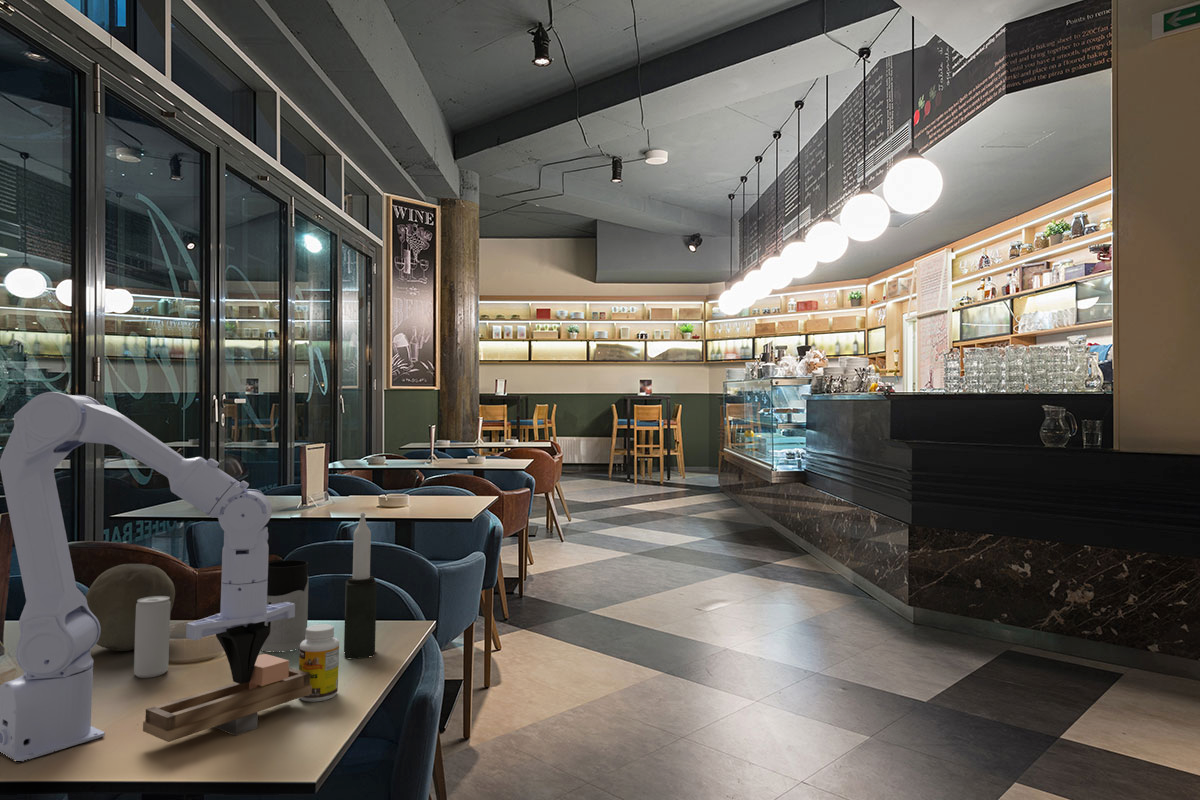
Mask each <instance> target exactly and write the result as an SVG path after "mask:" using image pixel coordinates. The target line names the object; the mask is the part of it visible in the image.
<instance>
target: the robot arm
mask: <svg viewBox="0 0 1200 800" xmlns="http://www.w3.org/2000/svg"><path fill="white" fill-rule="evenodd" d="M13 423H14V424H13V428H12V430H11V433H10V435H9V438H8V439H7V442H6V445H5V447H4V449H3V452H2V455H1V456H0V475H1V480H2V485H3V490H4V496H5V500H6V506H7V510H8V514H9V515H8V517H9V520H10V526H11V530H12V534H13V535H12V536H13V540H14V541H13V542H14V546H15V551H16V555H17V561H18V566H19V571H20V577H21V580H22V586H23V592H24V595H25V596H24V597H25V605H24V606H23V610H22V611H21V614H20V617H19V621H18V626H19V634H20V635H19V640H18V642H17V644H16V648H15V660H16V662H17V665H18V666H19V668H20V669H21V670H22V671H23V674H22V675H21V676H19V677H17V678H15V679H12V680H9V681H5V682H3V683H1V684H0V752H2V753H4V754H5V755H7V756H9V757H10V759H11V758H12V759H14V760H16V761H22V762H25V761H24V760H26V761H28V760H27V759H29V760H31V759H35V758H38V757H41V756H44V755H47V754H51V753H55V752H58V751H61V750H63V749H64V750H65V749H67V748H71V747H73V746H77V745H79V744H83V743H84V744H85V743H87V742H90V741H92V740H96V739H99V738H102V737H104V736H105V734H106V732H105V731H103V730H101V729H99V728H96V727H95V726H92V705H93V701H92V700H93V679H94V658H93V657H92V654H91V650H92V649H93V648H94V646H96V645H97V644H96V643H97V641H98V639H99V637H100V633H101V627H100V623H99V621H98V619H97V618H96V616H95V615H94V614H93V613H92V612H91V611H90V609H89V607H88V604H87V599H86V597H85V596H86V595H84V593H83V592H82V591H81V590H80V589H79V588H78V586H77V584H76V578H75V573H74V568H73V563H72V558H71V553H70V547H69V543H68V537H67V532H66V527H65V522H64V517H63V512H62V507H61V501H60V497H59V492H58V487H57V481H56V476H55V469H56V468H57V467H58V465H60V464H61V462H62V461H64V460H65V458H66V457H67V456H68V455H69V454H70V453H71V452H72V451H73V450H74V449H76V448H79V447H80V446H82V445H84V444H85V443H90V444H101V445H111V446H113V447H115V448H116V449H119V450H120V451H122V452H123V453H125V454H127V455H129V456H131V457H132V458H134V459H135V460H138V462H141V463H142V464H144V465H145V466H148V467H149V468H150V469H153V470H155V471H156V472H158V473H159V474H160V475H163V476H165V477H166V478H167V479H168V483H169V488H170V489H169V490H170V492H171V493H173V494H174V495H176V496H177V497H179V498H180V499H182V500H184V501H185V502H187V503H188V504H190V505H191V506H193V507H195V508H196V509H197V510H199V511H201V512H202V513H204V514H206V515H207V516H209V517H210V518H213V519H214V518H217V520H218V523H219V526H220V528H221V529H222V530H223V531H224V532H223V547H222V553H221V557H222V558H221V578H220V579H221V580H220V581H221V584H220V586H221V587H220V607H219V608H220V609H219V611H220V612H219V613H215V614H214V615H209V616H208V617H204V618H201V619H197V620H194V621H190V622H186V625H185V627H186V629H185V639H188V640H192V641H199V640H202V639H203V638H204V637H209V636H213V635H215V637H216V639H217V640H218V642H219V643H220V646H221V647H222V649H223V651H224V653H225V656H226V658H227V663H228V665H229V668H230V672H231V677H232V682H233V683H239V684H244V683H247V682H250V680H251V676H252V673H253V669H254V666H255V663H256V660H257V657H258V655H260V652H261V651H260V650H261V648H262V646H263V644H264V642H265V641H266V639H267V637H268V636H269V634H270V627H269V626H265V622H270V621H274V620H278V619H283V618H293V617H295V604H294V603H289V602H284V603H279V604H271V605H267V584H268V563H269V549H270V548H269V543H268V540H269V532H268V530H269V528H268V526H266V525H267V524H268V523H269V521H270V519H271V517H272V514H273V513H272V510H273V507H272V503H271V501H270V500H269V498H268V497H267V496H266V495H265V494H264V493H263V492H262V491H261V490H259V489H254V488H253V489H252V488H248V487H249V486H250V483H249V482H247V481H245V480H242V481H241V482H240V481H238V479H235V478H234V477H233V476H231V475H229V474H228V473H227V472H225V471H223V470H222V469H220V468H219V467H218V466H219V465H220V462H218V461H217V460H216V459H214V458H208V459H206V458H204V457H202V456H196V457H190V458H185V457H184V456H183V455H181V454H180V453H178V452H177V451H175V450H174V449H173V448H171V447H170V446H169V445H167V444H165V443H164V442H162V441H161V440H160V439H158V438H157V437H156V436H154V435H152V433H150V432H148V431H147V430H146V429H144V428H143V427H141V426H140V425H138V424H137V423H136V422H134V421H132V420H131V419H130V418H129V417H127V416H126V415H124V414H122V413H121V412H119V411H117V410H115V408H112V407H109V406H107V405H104V404H101V403H100V402H99V401H98V400H97V399H95V398H93V397H91V396H88V395H85V394H84V395H83V394H75V395H74V394H73V395H72V394H67V393H63V392H58V391H57V392H56V391H47V392H43V393H40V394H38V395H36V396H34V397H33V398H32V399H30V400H29V401H28V402H26V404H24V405H22V407H21V408H20V409H19V410H18V411H17V412H15V413H14V415H13ZM54 751H55V752H54ZM2 753H1V754H2ZM4 754H3V755H4ZM5 755H4V756H5ZM7 756H6V757H7ZM9 757H8V758H9ZM12 759H11V760H12ZM14 760H13V761H14ZM16 761H15V762H16Z"/></svg>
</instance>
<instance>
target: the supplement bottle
mask: <svg viewBox="0 0 1200 800" xmlns="http://www.w3.org/2000/svg"><path fill="white" fill-rule="evenodd" d="M334 631H335V627H334V625H333V624H332V625H331V624H327V623H326V624H325V623H324V624H323V623H322V624H320V623H319V624H314V625H310V626H307V628H306V635H305V636H306V639H305V640H304V641H302V642H301V644H300V649H299V650H298V651H299V655H298V656H299V659H298V660H299V661H298V670H300V671H304V672H307V673H310V685H312V694H310V695H307V696H304V697H301V698H299V699H300V700H302V701H304V702H309V703H310V702H312V703H316V702H323V701H327V700H330V699H332V698H334V697H335V696H336V695H338V694H337V693H338V691H339V688H338V687H339V660H340V659H339V658H340V657H339V656H340V641H339V639H338V638H336V637H335V632H334Z"/></svg>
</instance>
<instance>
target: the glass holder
mask: <svg viewBox="0 0 1200 800" xmlns="http://www.w3.org/2000/svg"><path fill="white" fill-rule="evenodd" d="M308 571H309V562H308V561H306V560H299V559H289V560H287V559H286V560H284V559H283V560H275V561H268V584H267V605H271V604H279V603H284V602H289V603H294V604H295V617H293V618H283V619H278V620H274V621H270V622H265V626H269V627H270V634H269V636H268V637H267V639H266V641H265V642H264V644H263V646H262V648H261V650H263V651H271V652H273V651H274V652H279V651H280V652H282V651H290V650H295V649H299V650H300V644H301V642H302V641H304V640H305V639H306V636H305V635H306V628H307V627H308V616H309V615H308V612H309V611H308V610H309V608H308V607H309V605H308V604H309V578H310V577H309V575H308V574H309V573H308ZM295 651H296V650H295ZM290 652H291V651H290ZM282 653H283V652H282Z"/></svg>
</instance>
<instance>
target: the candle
mask: <svg viewBox="0 0 1200 800" xmlns="http://www.w3.org/2000/svg"><path fill="white" fill-rule="evenodd" d="M359 515H360V518H359V522H358V525H357V527H356V528H355V530H354V531H353V550H352V557H353V558H352V576H350V577H348V578H347V580H345V592H344V593H345V594H344V595H345V597H344V629H343V630H344V632H343V633H344V637H343V644H344V645H343V653H344V652H345V653H344V658H345V657H346V658H356V659H360V658H359V657H366V658H370V657H369V656H372V657H374V656H375V655H376V633H377V632H376V628H377V627H376V624H377V623H376V622H377V621H376V620H377V590H378V589H377V584H378V583H377V580H376V579H375V576H373V575H371V544H372V543H371V540H372V538H371V537H372V531H371V530H370V528H369V526H368V524H367V521H366V513H365V512H361V513H360V514H359ZM374 654H375V655H374ZM373 655H374V656H373ZM346 658H345V659H346Z"/></svg>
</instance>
